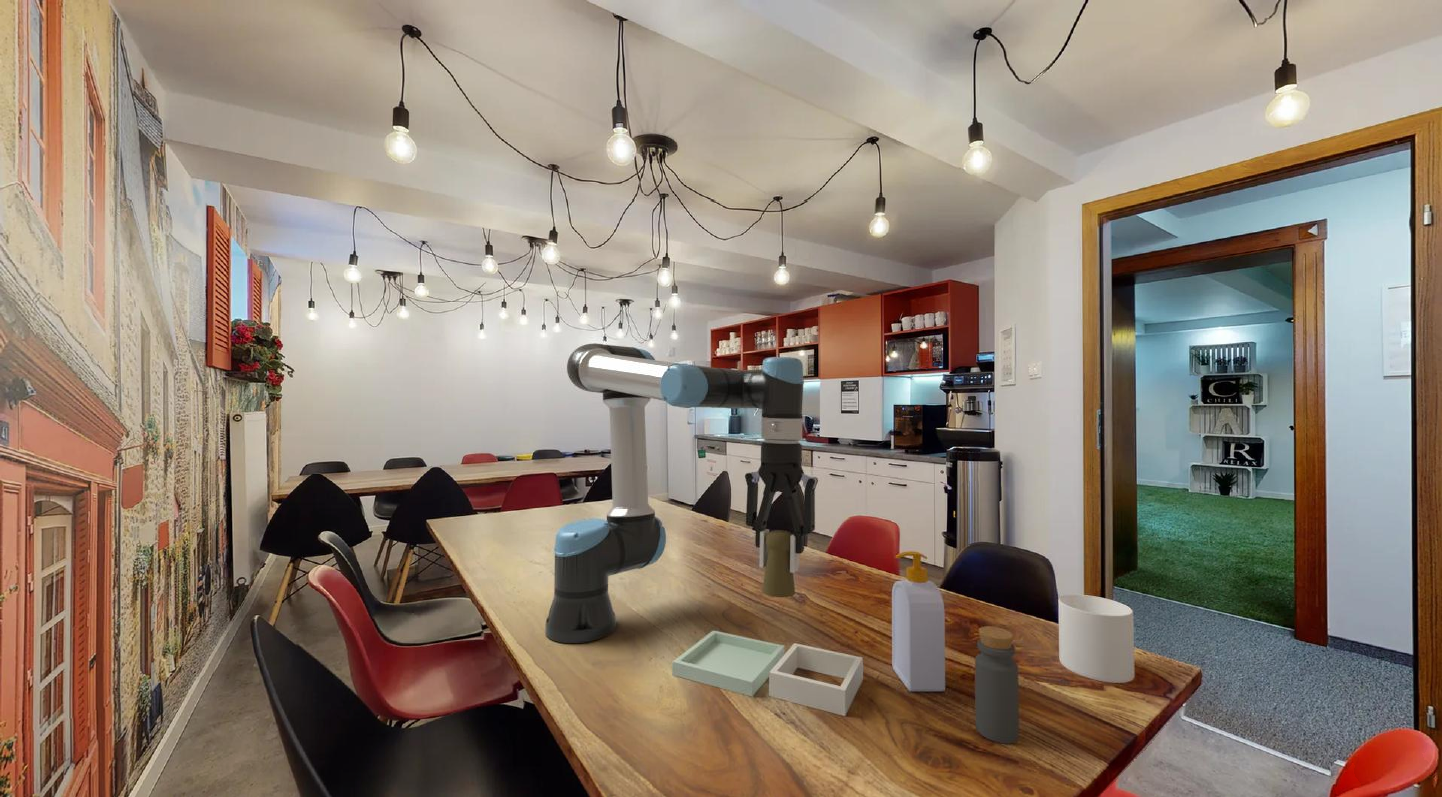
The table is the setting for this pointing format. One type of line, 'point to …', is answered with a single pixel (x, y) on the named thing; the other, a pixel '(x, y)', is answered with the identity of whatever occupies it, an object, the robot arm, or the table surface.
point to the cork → (778, 565)
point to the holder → (812, 690)
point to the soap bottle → (918, 629)
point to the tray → (729, 662)
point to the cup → (1096, 638)
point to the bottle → (996, 686)
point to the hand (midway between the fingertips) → (778, 567)
